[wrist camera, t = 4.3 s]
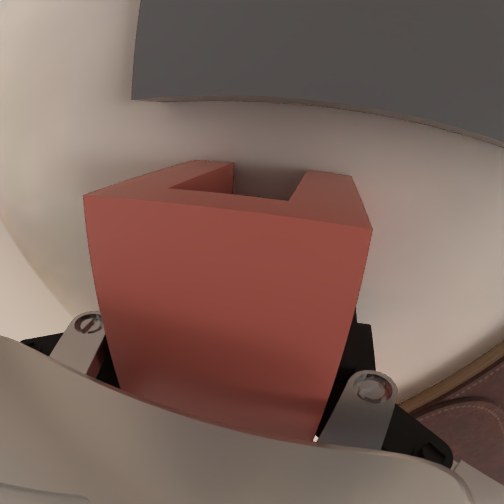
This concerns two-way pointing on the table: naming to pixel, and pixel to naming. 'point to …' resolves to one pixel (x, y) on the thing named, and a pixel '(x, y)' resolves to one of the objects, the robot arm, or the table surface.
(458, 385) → the notebook
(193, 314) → the block
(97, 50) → the table surface
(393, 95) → the board
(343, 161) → the table surface
